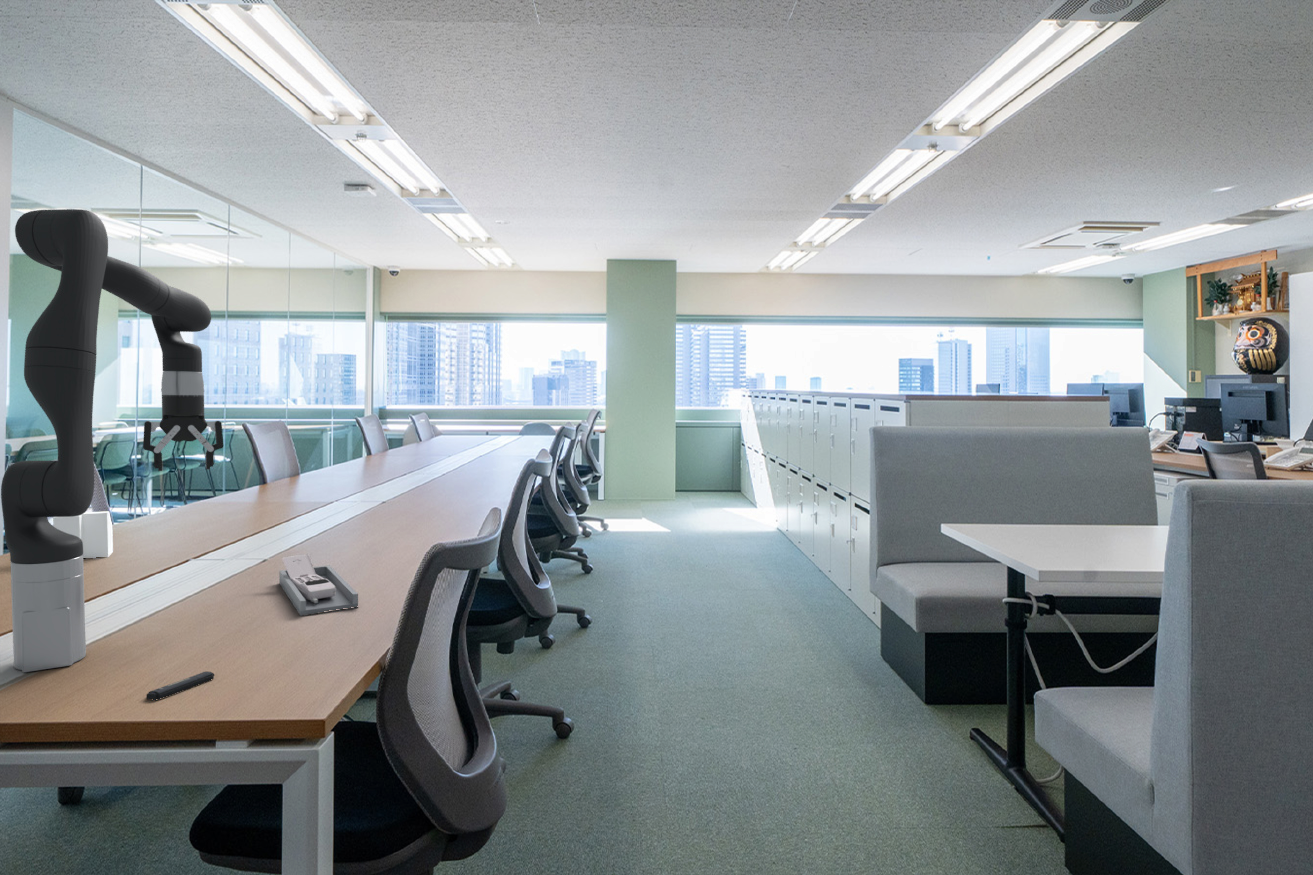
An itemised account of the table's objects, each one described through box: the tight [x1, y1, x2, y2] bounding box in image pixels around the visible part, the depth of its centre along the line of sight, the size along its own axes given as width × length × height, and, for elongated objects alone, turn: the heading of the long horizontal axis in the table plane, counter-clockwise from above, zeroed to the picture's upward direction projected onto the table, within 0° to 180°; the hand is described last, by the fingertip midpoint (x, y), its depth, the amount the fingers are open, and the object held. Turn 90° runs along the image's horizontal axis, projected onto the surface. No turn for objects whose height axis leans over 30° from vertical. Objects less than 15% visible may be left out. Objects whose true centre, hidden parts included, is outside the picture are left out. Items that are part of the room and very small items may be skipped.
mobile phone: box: [282, 553, 336, 603], centre depth 163 cm, size 6×6×25 cm
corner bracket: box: [52, 510, 114, 559], centre depth 196 cm, size 11×11×12 cm
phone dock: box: [278, 564, 359, 617], centre depth 164 cm, size 30×11×3 cm, turn 34°
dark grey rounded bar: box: [145, 671, 215, 701], centre depth 112 cm, size 10×3×2 cm, turn 159°
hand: (184, 469), depth 156 cm, fingers open, 8 cm apart
